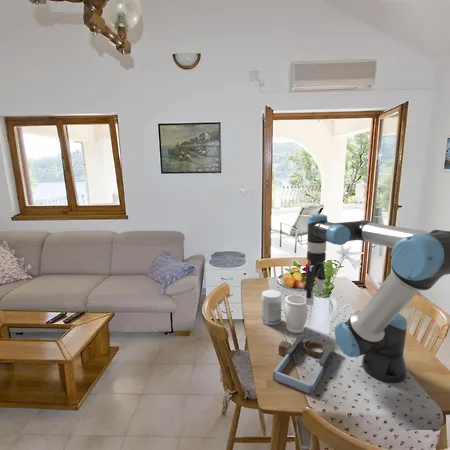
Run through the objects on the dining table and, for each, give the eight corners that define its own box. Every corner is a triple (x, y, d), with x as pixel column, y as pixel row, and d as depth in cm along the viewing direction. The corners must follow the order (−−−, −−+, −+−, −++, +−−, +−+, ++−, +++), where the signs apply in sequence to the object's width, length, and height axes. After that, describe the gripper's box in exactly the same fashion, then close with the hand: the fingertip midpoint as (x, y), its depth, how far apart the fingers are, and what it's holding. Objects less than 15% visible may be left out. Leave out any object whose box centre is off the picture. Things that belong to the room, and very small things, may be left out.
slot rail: (300, 341, 140) (301, 332, 139) (334, 351, 132) (334, 342, 131) (286, 360, 127) (286, 351, 126) (322, 373, 119) (323, 363, 118)
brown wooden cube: (290, 351, 132) (291, 343, 131) (287, 356, 129) (288, 348, 128) (281, 349, 134) (281, 340, 133) (278, 354, 131) (278, 345, 130)
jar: (307, 335, 144) (308, 305, 141) (283, 333, 146) (284, 303, 143) (306, 324, 154) (307, 295, 151) (284, 322, 156) (285, 293, 153)
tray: (286, 360, 126) (286, 353, 126) (322, 373, 119) (323, 366, 118) (272, 379, 116) (273, 371, 115) (311, 394, 108) (312, 386, 108)
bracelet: (299, 347, 136) (300, 340, 135) (318, 344, 138) (318, 338, 137) (309, 359, 128) (309, 352, 127) (328, 356, 129) (329, 349, 129)
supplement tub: (283, 319, 158) (284, 292, 155) (276, 328, 150) (277, 299, 147) (265, 314, 163) (266, 288, 160) (258, 322, 155) (258, 294, 152)
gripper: (316, 244, 145) (315, 287, 149) (296, 257, 125) (295, 307, 129) (333, 246, 141) (331, 291, 145) (315, 259, 121) (313, 312, 125)
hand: (314, 299), depth 137 cm, fingers open, 13 cm apart
